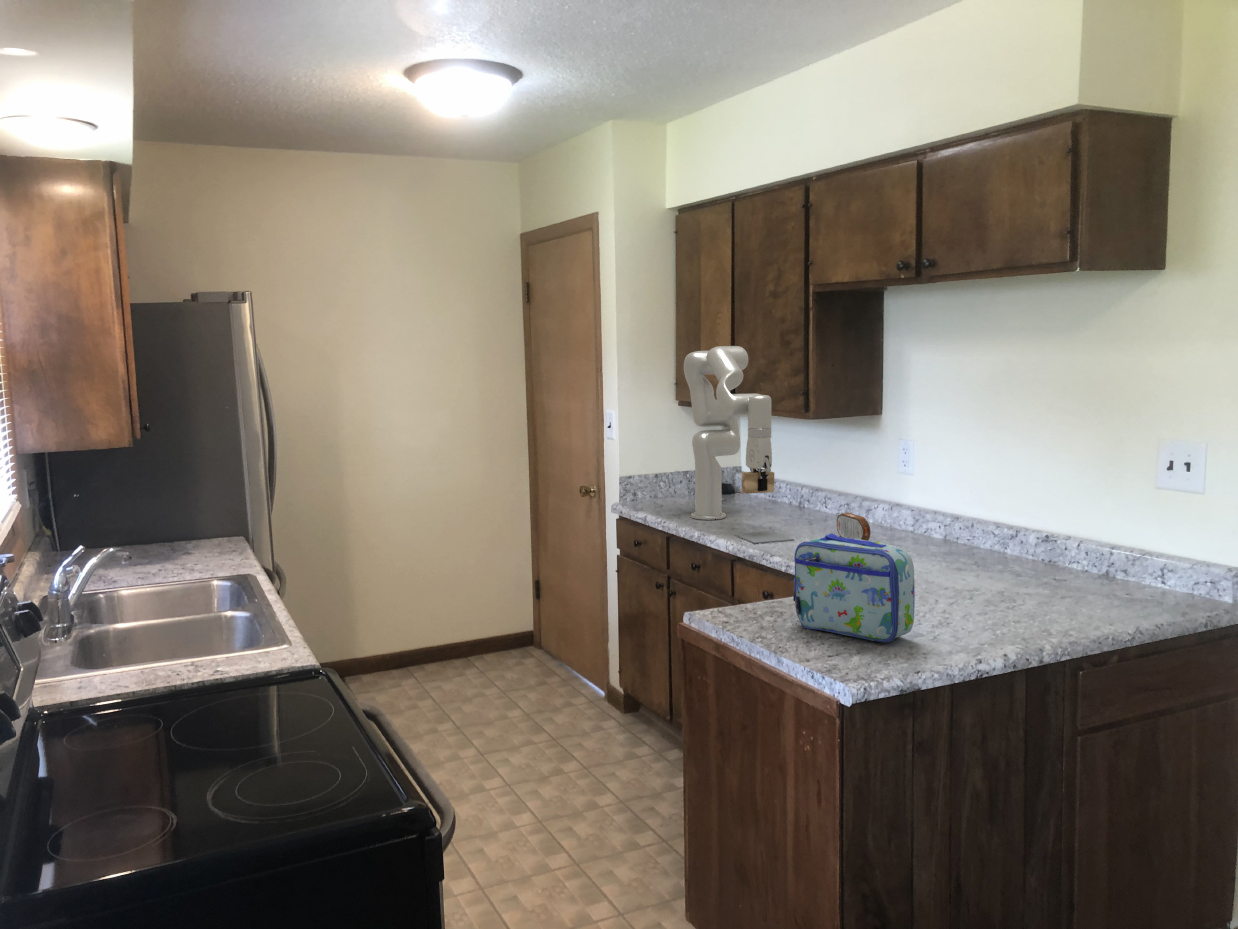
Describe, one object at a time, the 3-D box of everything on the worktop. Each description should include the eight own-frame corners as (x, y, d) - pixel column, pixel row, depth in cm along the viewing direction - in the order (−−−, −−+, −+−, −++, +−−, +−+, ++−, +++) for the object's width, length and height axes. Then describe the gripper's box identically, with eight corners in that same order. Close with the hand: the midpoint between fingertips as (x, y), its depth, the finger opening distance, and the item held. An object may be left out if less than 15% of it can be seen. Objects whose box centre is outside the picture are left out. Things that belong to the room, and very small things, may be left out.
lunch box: (786, 626, 214) (787, 534, 212) (814, 616, 222) (815, 527, 219) (891, 651, 196) (894, 551, 193) (917, 639, 203) (920, 542, 201)
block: (741, 492, 311) (741, 472, 310) (768, 490, 314) (769, 471, 313) (746, 493, 307) (746, 473, 306) (774, 492, 311) (774, 472, 310)
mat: (733, 535, 315) (733, 533, 315) (771, 531, 319) (771, 530, 319) (754, 544, 301) (754, 542, 301) (794, 540, 305) (794, 538, 305)
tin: (871, 544, 298) (871, 518, 297) (862, 545, 297) (863, 518, 296) (842, 535, 312) (843, 510, 311) (834, 536, 311) (834, 511, 309)
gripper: (737, 432, 315) (737, 487, 317) (761, 436, 299) (761, 494, 302) (758, 431, 317) (757, 485, 320) (782, 435, 302) (782, 492, 304)
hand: (759, 489), depth 311 cm, fingers closed on block, 3 cm apart
